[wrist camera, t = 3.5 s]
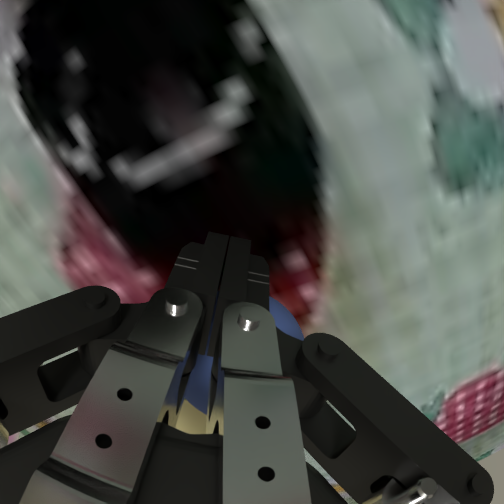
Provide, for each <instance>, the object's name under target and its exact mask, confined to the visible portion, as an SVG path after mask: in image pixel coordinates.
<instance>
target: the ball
mask: <svg viewBox="0 0 504 504" xmlns="http://www.w3.org/2000/svg"><path fill="white" fill-rule="evenodd" d="M218 296H219V291H218V292H217V297H216V302H215V306H214V311H213V316H212V321H211V326H210V331H209V336H208V341H207V346H206V351H205V355H200V354H198V357H197V361H196V365H195V367H194V369H193V372H192V376H191V379H190V382H189V386H188V389H187V392H186V395H185V398H186V400H187V401H188V402H189V403H190V404H192V405H193V406H194V407H195V408H196V409H198V410H199V411H201V412H202V413H204V414H206V415H207V407H208V391H209V378H210V373H211V368H212V362H213V357H210V356H207V352H208V347H209V342H210V336H211V331H212V326H213V321H214V316H215V311H216V306H217V301H218ZM269 308H270V313H271V314H272V316H273V318H274V320H275V325H276V327H277V328H279V329H280V330H281V331H283V332H284V333H286V334H288V335H290V336H292V337H295V338H297V339H300V340H302V341H303V340H304V337H303V334H302V331H301V329H300V327H299V325H298V323H297V321H296V320H295V318H294V317H293V315H292V314H291V313H290V312H289V311H288V310H287V309H286V308H285V307H284V306H283V305H282V304H281V303H279V302H278V301H277V300H275V299H273V298H272V297H270V296H269Z"/></svg>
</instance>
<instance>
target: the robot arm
mask: <svg viewBox="0 0 504 504" xmlns="http://www.w3.org/2000/svg"><path fill="white" fill-rule="evenodd" d="M228 239H229V236H228V235H223V234H218V233H213V232H209V233H208V236H207V238H206V241H205V244H204V245H203V244H199V243H194V242H191V243H189V244H187V245H186V246H184V247H183V248H182V249H181V252H180V254H179V256H178V258H177V260H176V263H175V265H174V267H173V269H172V272H171V274H170V276H169V278H168V281H167V283H166V285H165V288H164V289H161V290H159V291H157V292H156V293H155V294H153V296H152V297H151V299H150V301H149V302H146V303H140V304H121V303H120V298H119V296H118V295H117V293H115V292H114V291H113V290H111V289H109V288H107V287H103V286H87V287H84V288H81V289H78V290H75V291H73V292H70V293H67V294H64V295H61V296H59V297H56V298H53V299H50V300H48V301H45V302H42V303H40V304H37V305H34V306H31V307H29V308H26V309H23V310H21V311H18V312H15V313H12V314H10V315H7V316H4V317H2V318H0V504H348V503H347V502H346V501H345V500H344V499H343V498H342V497H341V496H340V495H339V493H338V492H337V491H336V490H335V489H334V488H333V487H332V486H331V485H330V484H329V483H328V481H327V480H326V479H325V478H324V477H323V476H322V475H321V474H320V473H319V472H318V471H317V470H316V469H315V468H314V467H313V466H311V465H310V464H309V463H307V462H306V461H305V454H304V448H305V449H306V450H307V451H308V453H309V454H310V455H311V456H312V457H313V458H314V459H315V460H316V461H317V462H318V463H319V464H320V465H321V466H322V467H323V469H324V470H325V471H326V472H327V473H328V474H329V475H330V476H331V477H332V478H333V479H334V480H335V481H336V482H337V483H338V484H339V485H340V486H341V487H342V488H343V489H344V490H345V491H346V492H347V493H348V494H349V495H350V496H351V497H352V498H353V499H354V500H355V501H356V502H357V503H358V504H490V503H491V501H492V498H493V494H494V485H493V481H492V478H491V476H490V475H489V473H488V472H487V471H486V470H485V469H484V468H483V467H482V466H481V465H480V464H479V463H477V462H476V461H475V460H474V459H473V458H472V457H471V456H470V455H468V454H467V453H466V452H465V451H464V450H463V449H462V448H461V447H460V446H458V445H457V444H456V443H455V442H454V441H453V440H452V439H451V438H449V437H448V436H447V435H446V434H445V433H444V432H443V431H442V430H440V429H439V428H438V427H437V426H436V425H435V424H434V423H433V422H432V421H430V420H429V419H428V418H427V417H426V416H425V415H424V414H423V413H421V412H420V411H419V410H418V409H417V408H416V407H415V406H414V405H413V404H411V403H410V402H409V401H408V400H407V399H406V398H405V397H404V396H403V395H401V394H400V393H399V392H398V391H397V390H396V389H395V388H394V387H393V386H391V385H390V384H389V383H388V382H387V381H386V380H385V379H384V378H383V377H381V376H380V375H379V374H378V373H377V372H376V371H375V370H374V369H373V368H371V367H370V366H369V365H368V364H367V363H366V362H365V361H364V360H363V359H362V358H360V357H359V356H358V355H357V354H356V353H355V352H354V351H353V350H352V349H350V348H349V347H348V346H347V345H346V344H345V343H344V342H343V341H341V340H340V339H338V338H337V337H335V336H332V335H330V334H326V333H313V334H310V335H308V336H307V337H306V338H305V339H304V340H303V341H302V340H300V339H297V338H295V337H292V336H290V335H288V334H286V333H284V332H283V331H281V330H280V329H279V328H277V327H276V325H275V320H274V318H273V316H272V314H271V313H270V308H269V265H268V264H267V262H266V261H265V259H264V258H263V257H260V256H256V255H251V254H250V247H251V240H247V239H242V238H237V237H233V236H231V238H230V243H229V247H228V252H227V257H226V261H225V266H224V271H223V276H222V281H221V286H220V291H219V296H218V301H217V306H216V311H215V316H214V321H213V326H212V331H211V336H210V342H209V347H208V352H207V356H210V357H213V362H212V368H211V373H210V378H209V391H208V407H207V425H206V434H188V433H185V432H183V431H180V430H178V429H176V424H177V420H178V417H179V414H180V411H181V407H182V404H183V401H184V398H185V395H186V392H187V389H188V386H189V382H190V379H191V376H192V372H193V369H194V367H195V365H196V361H197V357H198V354H200V355H205V351H206V346H207V341H208V336H209V331H210V326H211V321H212V316H213V311H214V306H215V302H216V297H217V292H218V287H219V282H220V277H221V272H222V268H223V263H224V258H225V253H226V248H227V243H228ZM77 347H78V350H77V351H75V352H73V353H71V354H68V355H66V356H64V357H62V358H59V359H57V360H55V361H52V362H50V363H48V364H46V365H43V366H41V367H39V366H40V365H41V364H42V363H43V362H45V361H47V360H49V359H51V358H54V357H56V356H58V355H61V354H63V353H65V352H68V351H70V350H72V349H74V348H77ZM327 400H328V401H329V402H330V403H331V404H332V405H333V406H334V407H335V408H336V409H337V410H338V411H339V412H340V413H341V414H342V415H343V416H344V417H345V418H346V419H347V420H348V421H349V422H350V423H351V424H352V425H353V426H354V428H355V430H356V431H355V430H354V429H353V428H352V427H351V426H350V425H348V424H347V423H346V422H345V421H344V420H343V419H342V418H341V417H340V416H339V415H338V414H337V413H336V412H335V411H334V409H333V408H332V407H331V406H330V405H329V404H328V403H327V402H326V401H327ZM76 404H78V405H77V406H76V408H75V410H74V412H73V414H72V415H69V416H65V417H62V418H60V419H57V420H55V421H53V422H51V423H49V424H47V425H45V426H43V427H42V428H40V429H38V430H36V431H34V432H32V433H30V434H28V435H26V436H24V437H22V438H20V439H18V440H16V441H14V442H12V443H10V444H8V439H9V436H11V435H13V434H16V433H18V432H20V431H22V430H24V429H26V428H29V427H31V426H33V425H35V424H37V423H39V422H41V421H43V420H46V419H48V418H50V417H52V416H54V415H56V414H58V413H60V412H62V411H64V410H66V409H68V408H70V407H72V406H74V405H76ZM7 444H8V445H7Z"/></svg>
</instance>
